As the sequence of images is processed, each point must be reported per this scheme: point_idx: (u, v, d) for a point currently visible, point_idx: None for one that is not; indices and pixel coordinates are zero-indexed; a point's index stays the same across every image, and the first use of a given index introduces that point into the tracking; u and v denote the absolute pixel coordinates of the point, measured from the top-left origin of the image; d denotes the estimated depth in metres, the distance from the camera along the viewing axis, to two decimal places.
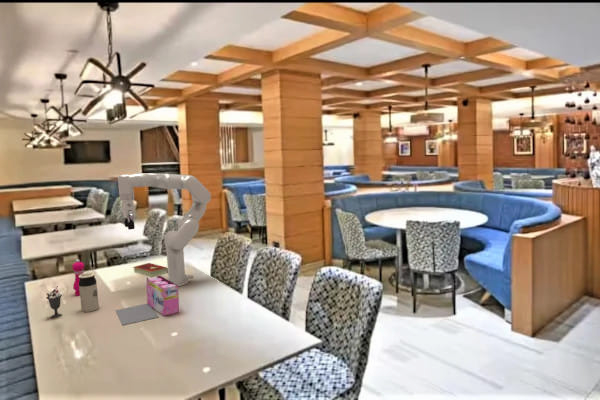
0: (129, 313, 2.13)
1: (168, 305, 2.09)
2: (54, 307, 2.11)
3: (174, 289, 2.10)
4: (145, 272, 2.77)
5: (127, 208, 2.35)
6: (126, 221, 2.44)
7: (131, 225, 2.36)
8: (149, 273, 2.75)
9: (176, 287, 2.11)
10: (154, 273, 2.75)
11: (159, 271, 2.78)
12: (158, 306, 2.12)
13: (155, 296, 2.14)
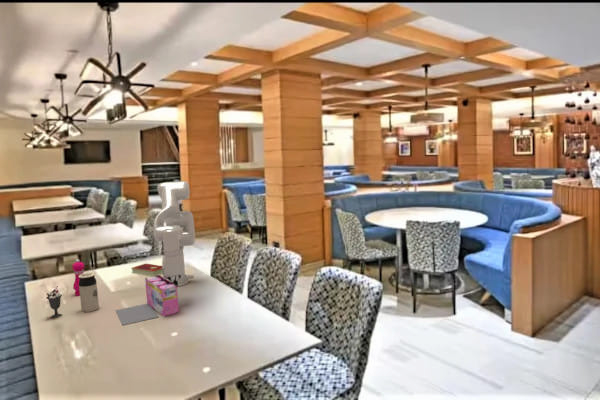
0: (129, 313, 2.13)
1: (168, 306, 2.09)
2: (54, 307, 2.11)
3: (173, 290, 2.10)
4: (146, 272, 2.77)
5: (183, 263, 2.21)
6: None
7: None
8: (151, 273, 2.75)
9: (175, 287, 2.10)
10: (156, 273, 2.75)
11: (160, 271, 2.79)
12: (158, 307, 2.12)
13: (155, 297, 2.14)
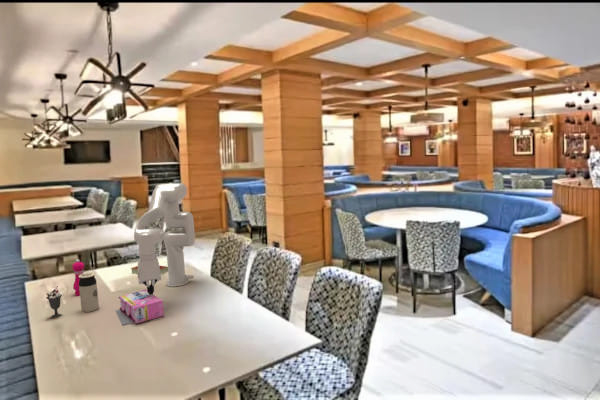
0: None
1: (154, 313, 2.05)
2: (54, 307, 2.11)
3: (138, 310, 2.00)
4: None
5: (159, 267, 2.15)
6: None
7: None
8: None
9: (136, 309, 1.99)
10: None
11: (161, 270, 2.79)
12: None
13: None
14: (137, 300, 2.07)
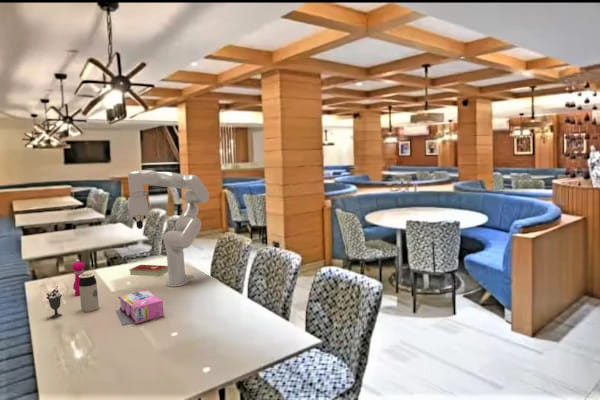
0: None
1: (154, 314, 2.05)
2: (54, 307, 2.11)
3: (138, 311, 2.00)
4: (148, 272, 2.77)
5: (147, 204, 2.35)
6: None
7: None
8: (155, 272, 2.75)
9: (136, 309, 1.99)
10: (159, 272, 2.77)
11: (163, 270, 2.80)
12: None
13: None
14: (137, 300, 2.07)
